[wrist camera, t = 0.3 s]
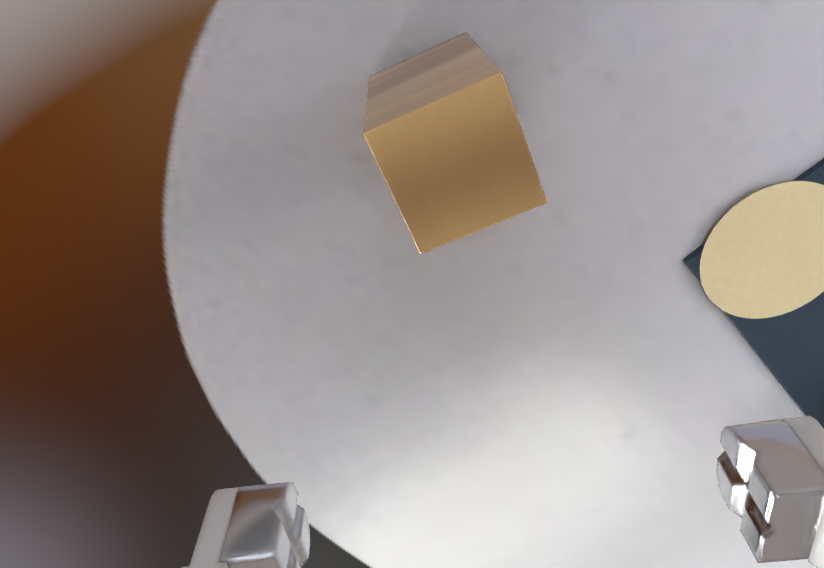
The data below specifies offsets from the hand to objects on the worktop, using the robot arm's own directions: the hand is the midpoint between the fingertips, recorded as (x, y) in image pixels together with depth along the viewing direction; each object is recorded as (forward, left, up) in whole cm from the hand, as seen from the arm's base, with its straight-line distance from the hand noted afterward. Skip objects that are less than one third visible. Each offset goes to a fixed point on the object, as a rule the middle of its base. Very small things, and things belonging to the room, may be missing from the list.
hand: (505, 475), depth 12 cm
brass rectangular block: (-2, +1, -22) cm, 22 cm away
